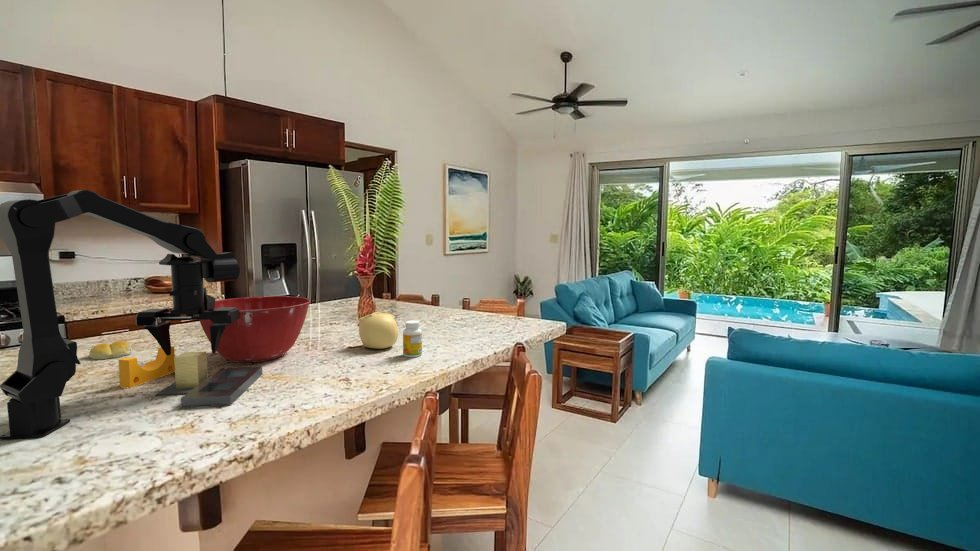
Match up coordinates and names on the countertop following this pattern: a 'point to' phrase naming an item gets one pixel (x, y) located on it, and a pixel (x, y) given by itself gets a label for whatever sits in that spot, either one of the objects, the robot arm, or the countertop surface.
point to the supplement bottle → (412, 339)
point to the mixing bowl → (260, 327)
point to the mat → (173, 390)
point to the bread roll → (110, 350)
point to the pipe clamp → (145, 369)
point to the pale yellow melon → (378, 330)
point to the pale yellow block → (190, 369)
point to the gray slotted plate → (222, 387)
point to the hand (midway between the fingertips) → (191, 354)
